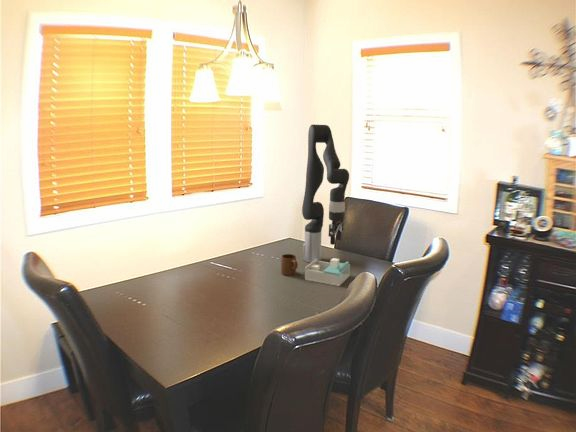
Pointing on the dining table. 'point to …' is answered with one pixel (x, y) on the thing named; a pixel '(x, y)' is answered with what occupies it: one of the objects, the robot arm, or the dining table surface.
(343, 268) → the teal lid
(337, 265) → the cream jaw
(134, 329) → the dining table surface
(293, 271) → the mug
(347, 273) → the grey housing
